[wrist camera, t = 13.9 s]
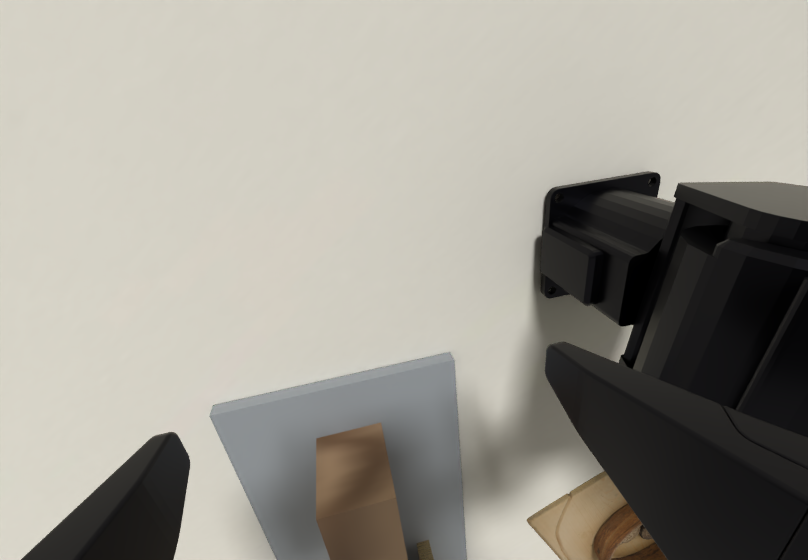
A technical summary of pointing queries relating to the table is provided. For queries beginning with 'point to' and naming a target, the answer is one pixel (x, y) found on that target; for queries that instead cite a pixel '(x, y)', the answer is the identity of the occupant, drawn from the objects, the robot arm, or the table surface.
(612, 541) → the board
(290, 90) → the table surface
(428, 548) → the cup bracket
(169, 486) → the robot arm
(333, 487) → the walnut rail
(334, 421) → the mounting board
